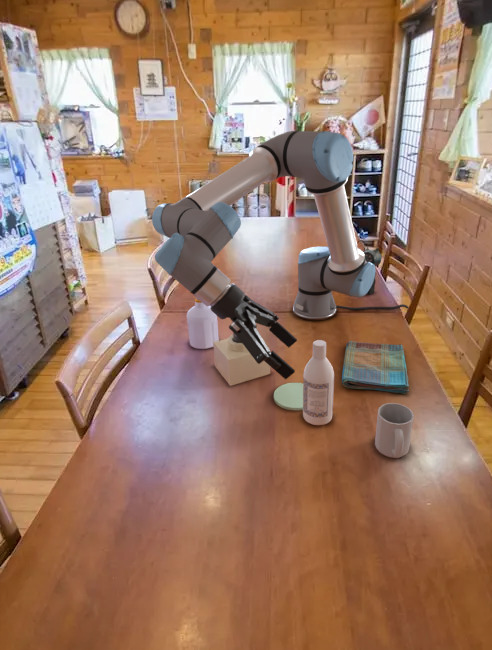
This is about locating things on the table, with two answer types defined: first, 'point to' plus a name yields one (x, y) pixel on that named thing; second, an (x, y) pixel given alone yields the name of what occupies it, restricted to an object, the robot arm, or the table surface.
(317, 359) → the bath foam
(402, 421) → the cup
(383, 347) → the dish towel
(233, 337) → the push button
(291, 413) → the table surface
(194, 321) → the spray bottle
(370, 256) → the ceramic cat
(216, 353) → the push button box
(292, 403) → the mat
